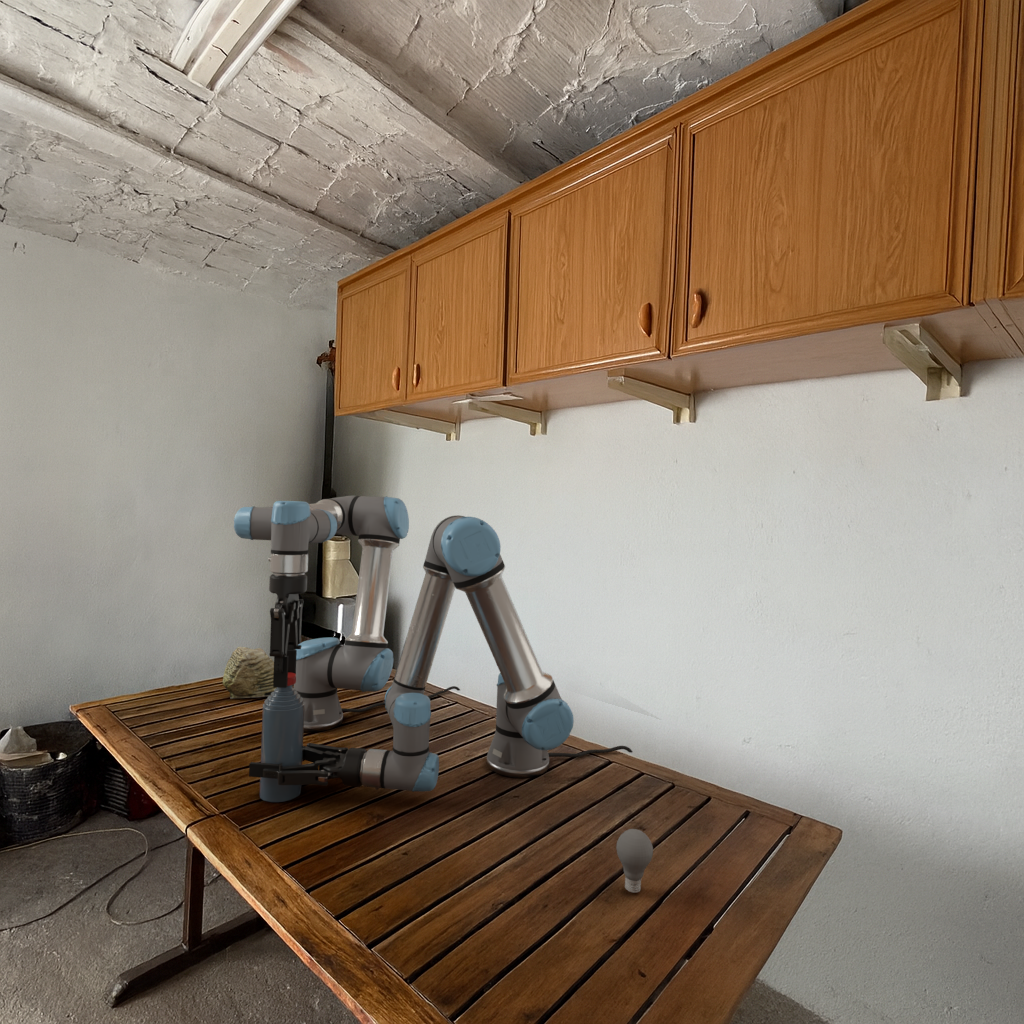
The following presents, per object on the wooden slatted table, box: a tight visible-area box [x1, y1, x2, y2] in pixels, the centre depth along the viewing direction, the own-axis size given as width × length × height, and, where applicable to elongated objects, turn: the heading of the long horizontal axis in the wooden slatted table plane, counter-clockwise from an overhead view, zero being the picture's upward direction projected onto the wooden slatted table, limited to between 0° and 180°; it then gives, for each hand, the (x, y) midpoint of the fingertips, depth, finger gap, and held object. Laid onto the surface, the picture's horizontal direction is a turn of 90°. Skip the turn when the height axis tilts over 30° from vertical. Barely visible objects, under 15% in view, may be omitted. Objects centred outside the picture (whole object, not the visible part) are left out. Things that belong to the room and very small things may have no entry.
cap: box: [287, 672, 296, 686], centre depth 134 cm, size 4×4×2 cm
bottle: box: [259, 684, 305, 803], centre depth 134 cm, size 8×8×25 cm
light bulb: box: [615, 828, 654, 894], centre depth 106 cm, size 6×6×10 cm
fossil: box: [222, 646, 276, 699], centre depth 198 cm, size 9×18×15 cm, turn 132°
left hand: (284, 683), depth 134 cm, fingers closed on cap, 4 cm apart
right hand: (260, 760), depth 135 cm, fingers closed on bottle, 8 cm apart
